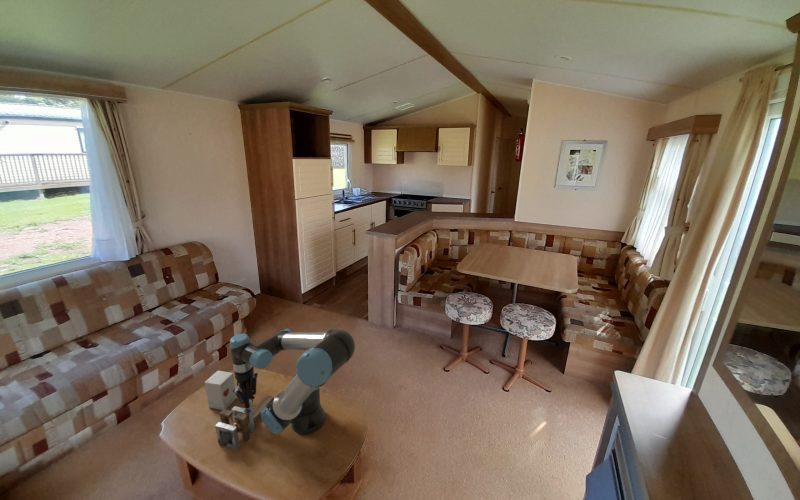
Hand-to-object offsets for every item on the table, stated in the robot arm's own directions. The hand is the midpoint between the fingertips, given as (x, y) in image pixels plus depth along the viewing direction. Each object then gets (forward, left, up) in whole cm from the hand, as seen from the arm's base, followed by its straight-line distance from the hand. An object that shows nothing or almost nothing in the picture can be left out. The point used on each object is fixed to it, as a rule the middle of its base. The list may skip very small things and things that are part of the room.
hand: (250, 411), depth 145 cm
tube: (0, +9, -3) cm, 9 cm away
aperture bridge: (0, +9, -5) cm, 11 cm away
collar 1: (0, +14, -5) cm, 15 cm away
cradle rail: (0, -6, -5) cm, 8 cm away
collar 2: (0, +5, -5) cm, 7 cm away
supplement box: (+21, -5, -6) cm, 22 cm away
